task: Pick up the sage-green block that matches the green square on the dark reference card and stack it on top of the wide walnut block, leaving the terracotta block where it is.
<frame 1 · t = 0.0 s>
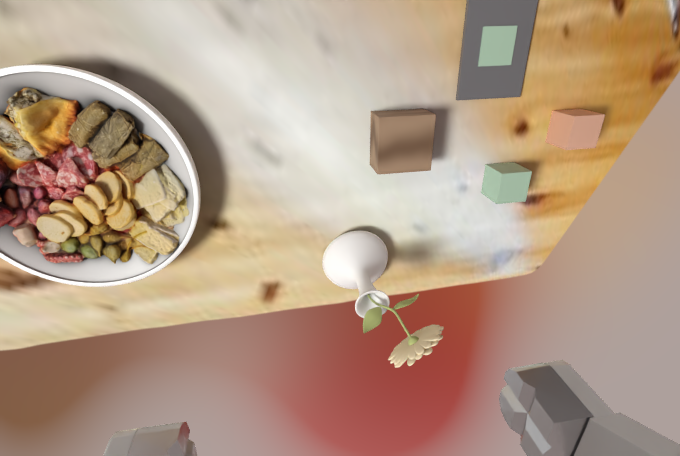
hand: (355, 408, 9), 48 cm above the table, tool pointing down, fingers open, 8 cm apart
flower in vase: (357, 253, 65), on the table
green block: (496, 177, 62), on the table
walnut base block: (395, 136, 56), on the table
terracotta block: (562, 125, 60), on the table
bowl: (93, 178, 52), on the table
reference card: (494, 46, 52), on the table
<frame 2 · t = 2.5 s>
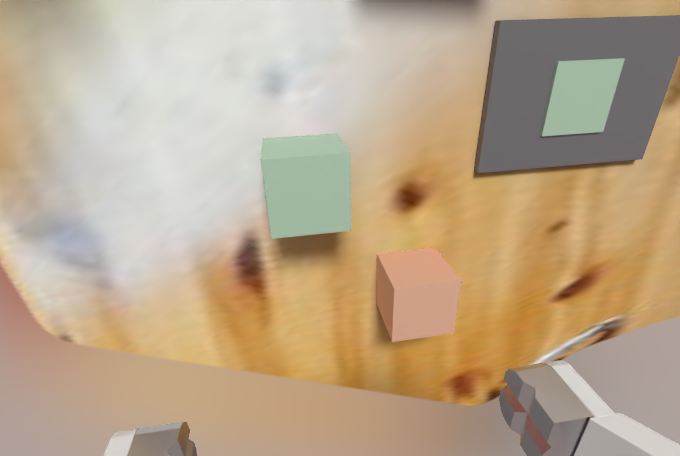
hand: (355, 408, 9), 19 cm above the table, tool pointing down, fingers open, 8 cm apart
green block: (303, 171, 26), on the table
terracotta block: (404, 274, 32), on the table
reference card: (574, 97, 27), on the table
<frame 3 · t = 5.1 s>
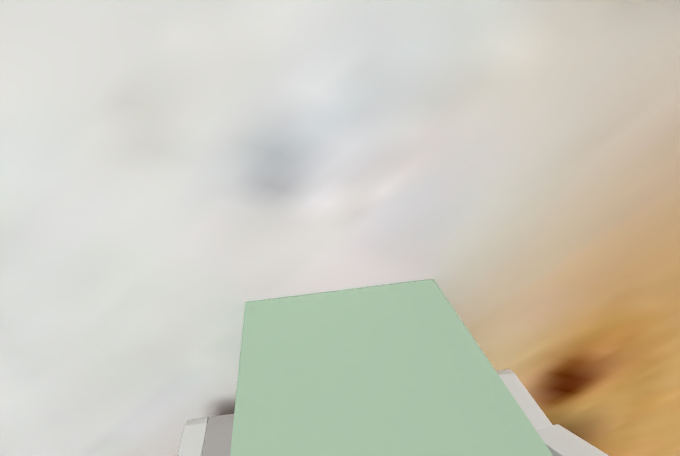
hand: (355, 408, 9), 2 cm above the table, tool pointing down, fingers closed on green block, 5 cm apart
green block: (344, 359, 11), on the table, touching gripper
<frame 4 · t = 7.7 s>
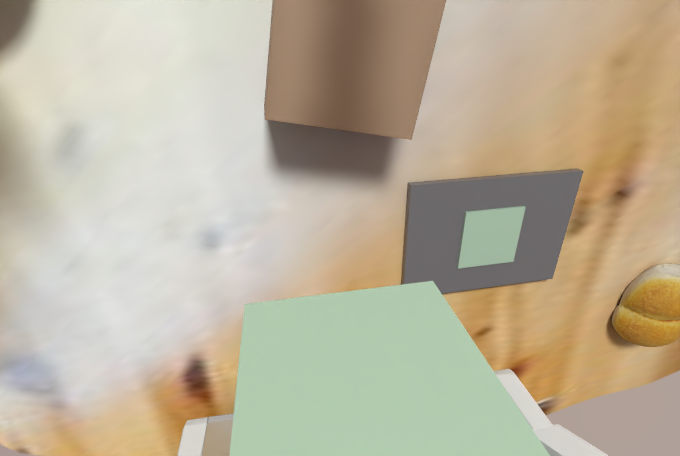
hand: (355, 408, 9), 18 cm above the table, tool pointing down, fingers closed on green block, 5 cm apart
green block: (344, 360, 11), point 16 cm above the table, touching gripper
walnut base block: (337, 46, 22), on the table
bread roll: (644, 295, 38), on the table
reference card: (485, 234, 30), on the table
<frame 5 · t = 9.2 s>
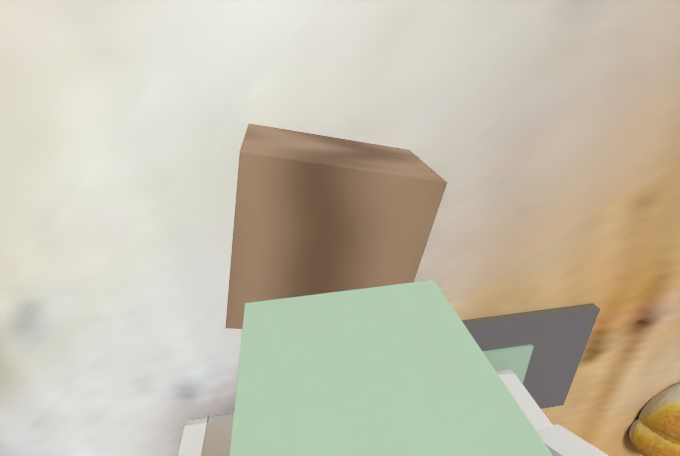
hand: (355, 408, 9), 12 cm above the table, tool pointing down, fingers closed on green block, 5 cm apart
green block: (344, 360, 11), point 10 cm above the table, touching gripper
walnut base block: (318, 210, 20), on the table
bread roll: (666, 407, 35), on the table
reference card: (488, 367, 28), on the table
when the fingers open (8 cm above the table, at t = 10.3 s): green block drops 2 cm, resting on walnut base block.
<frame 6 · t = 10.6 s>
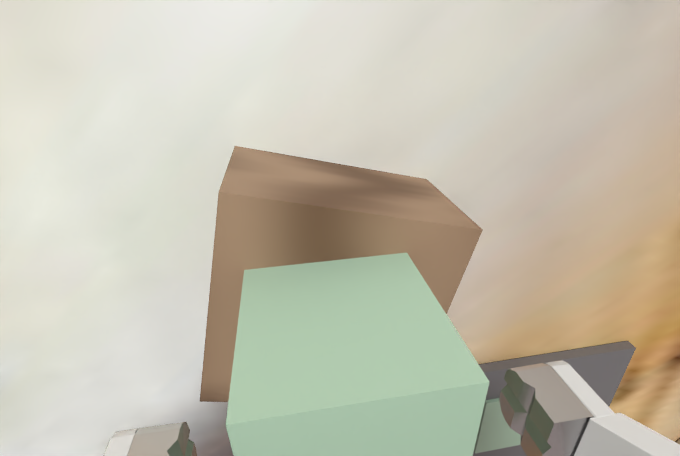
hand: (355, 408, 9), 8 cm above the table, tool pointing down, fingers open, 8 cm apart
green block: (330, 324, 12), point 5 cm above the table, touching walnut base block
walnut base block: (317, 246, 17), on the table, touching green block
reference card: (509, 411, 24), on the table
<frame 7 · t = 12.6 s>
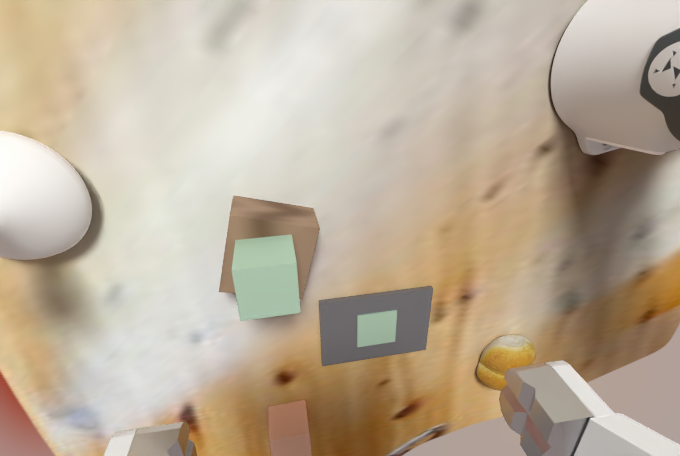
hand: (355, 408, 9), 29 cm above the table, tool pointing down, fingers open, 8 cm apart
flower in vase: (32, 199, 33), on the table
green block: (266, 260, 34), point 5 cm above the table
walnut base block: (267, 236, 39), on the table
terracotta block: (288, 414, 51), on the table
bread roll: (499, 354, 55), on the table
reference card: (375, 325, 47), on the table
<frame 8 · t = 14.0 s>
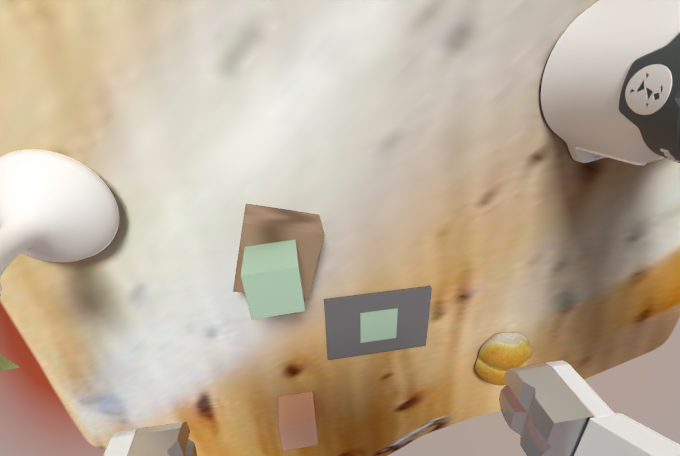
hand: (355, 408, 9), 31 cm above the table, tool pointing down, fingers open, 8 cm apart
flower in vase: (67, 208, 37), on the table
green block: (274, 264, 38), point 5 cm above the table, touching walnut base block
walnut base block: (277, 240, 42), on the table, touching green block
terracotta block: (296, 405, 55), on the table
bread roll: (497, 350, 57), on the table
reference card: (377, 322, 50), on the table
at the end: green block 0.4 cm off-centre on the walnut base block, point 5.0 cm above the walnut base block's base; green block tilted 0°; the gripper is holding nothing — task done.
